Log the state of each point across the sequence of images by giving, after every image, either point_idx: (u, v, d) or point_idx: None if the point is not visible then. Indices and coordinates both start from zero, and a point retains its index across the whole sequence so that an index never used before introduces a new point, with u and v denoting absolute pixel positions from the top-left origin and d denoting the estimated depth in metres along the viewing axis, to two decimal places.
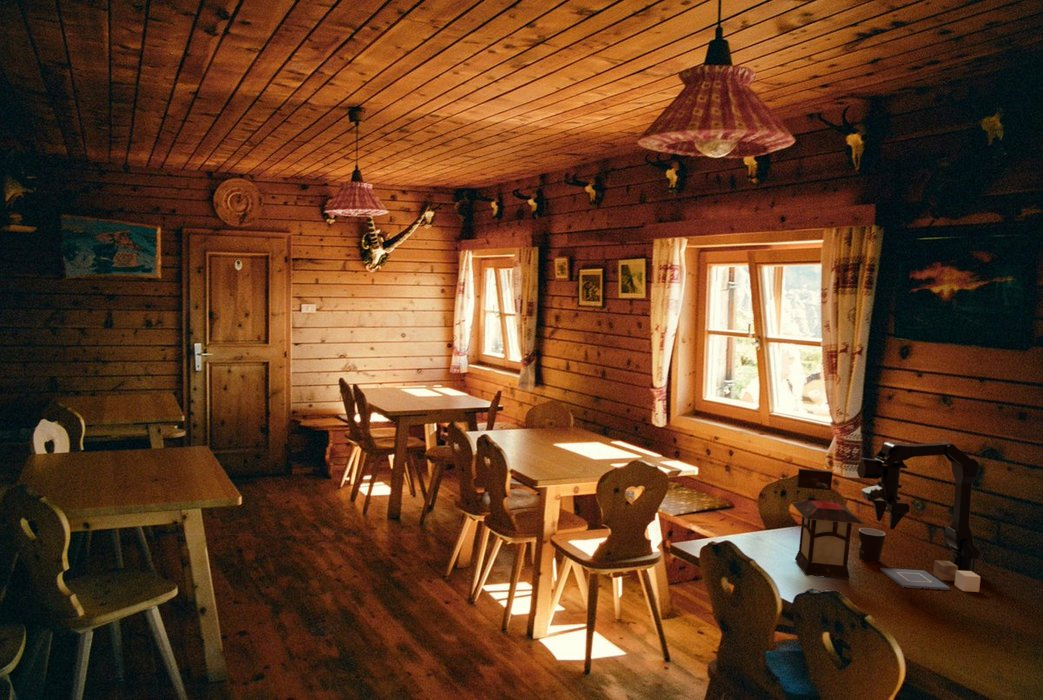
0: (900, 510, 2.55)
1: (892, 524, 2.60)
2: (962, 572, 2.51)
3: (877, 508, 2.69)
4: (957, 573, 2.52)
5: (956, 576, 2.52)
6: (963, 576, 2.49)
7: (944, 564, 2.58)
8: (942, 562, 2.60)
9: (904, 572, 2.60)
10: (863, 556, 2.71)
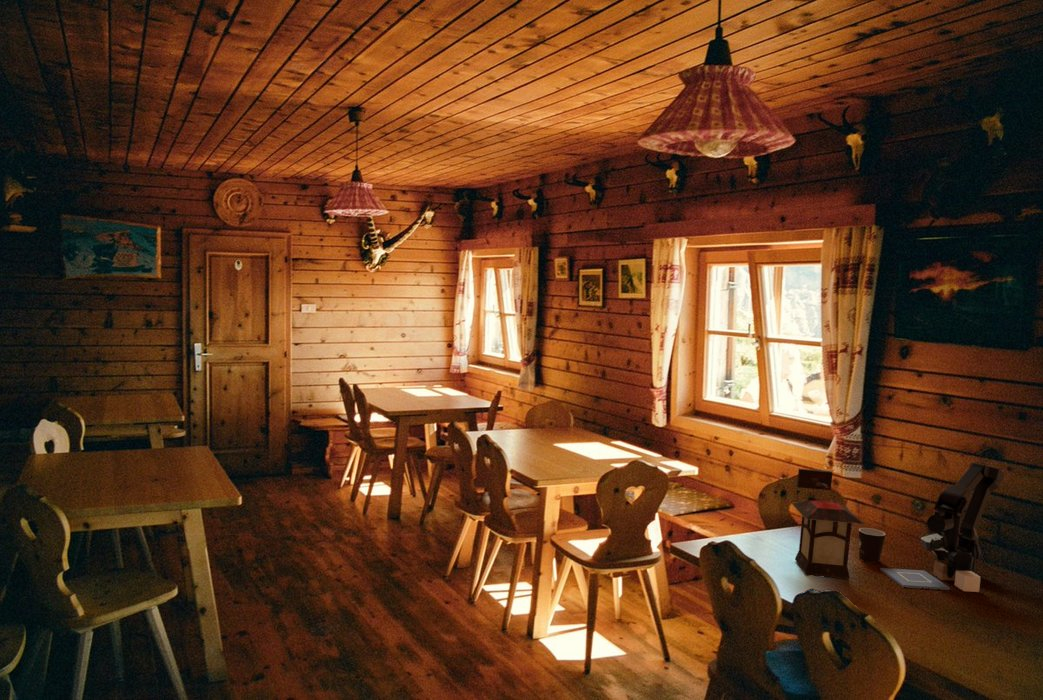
0: (963, 561, 2.50)
1: (950, 572, 2.56)
2: (962, 572, 2.51)
3: (939, 558, 2.62)
4: (957, 573, 2.52)
5: (956, 576, 2.52)
6: (963, 577, 2.49)
7: (944, 564, 2.58)
8: (942, 562, 2.60)
9: (904, 572, 2.60)
10: (863, 556, 2.71)
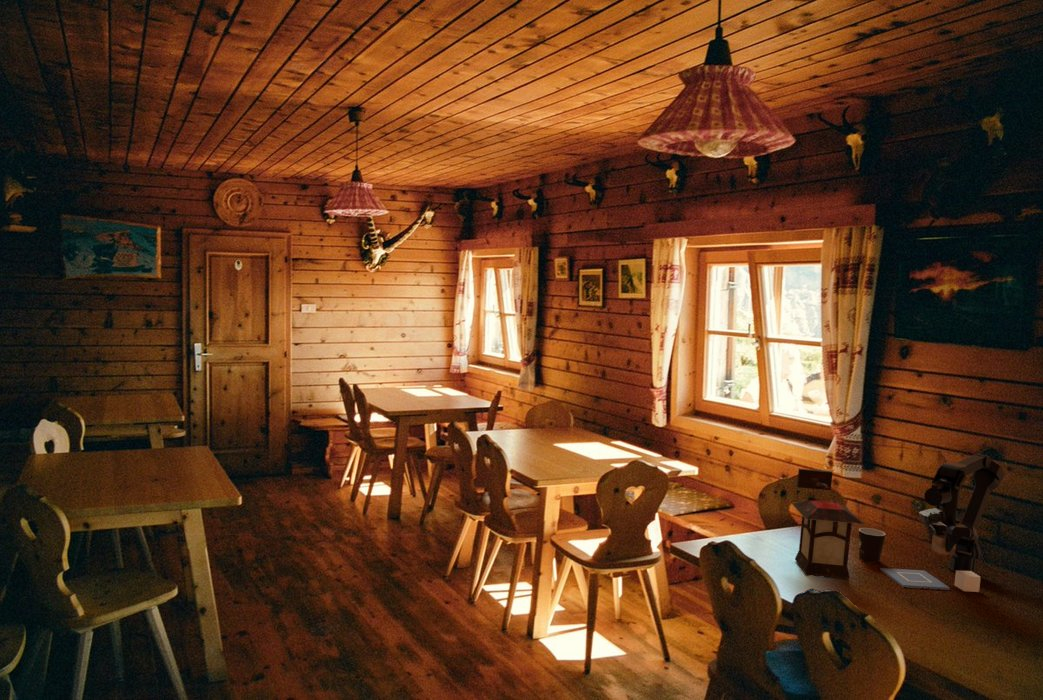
0: (961, 534, 2.48)
1: (948, 546, 2.55)
2: (962, 572, 2.51)
3: (937, 533, 2.61)
4: (957, 573, 2.52)
5: (956, 576, 2.52)
6: (963, 577, 2.49)
7: (942, 538, 2.56)
8: (940, 536, 2.58)
9: (904, 572, 2.60)
10: (863, 556, 2.71)
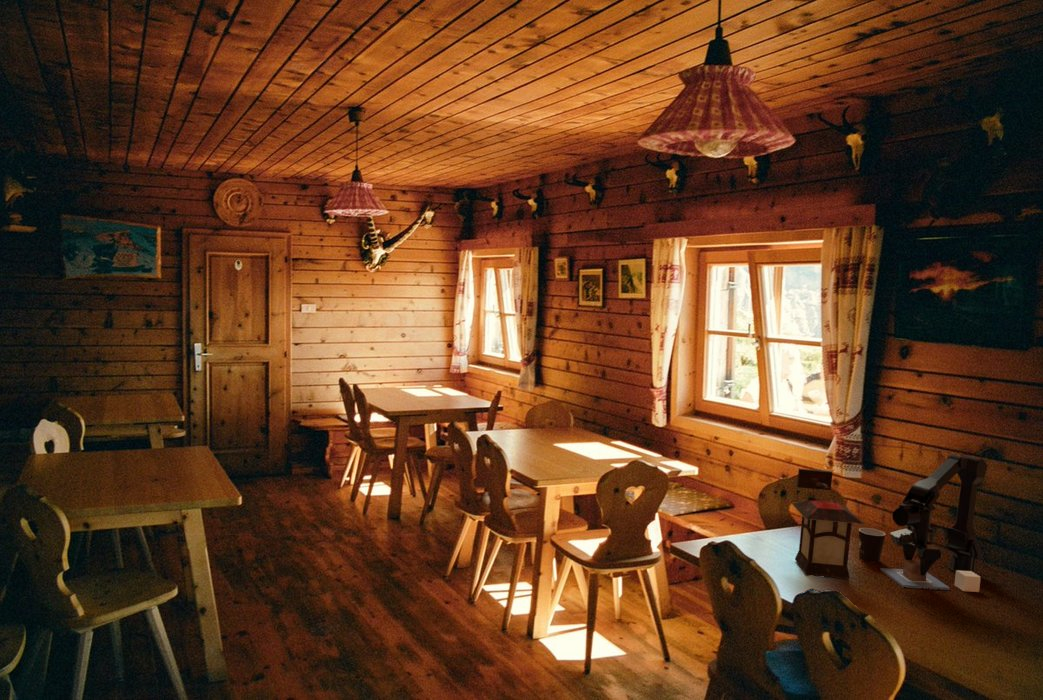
0: (932, 556, 2.45)
1: (923, 570, 2.50)
2: (962, 572, 2.51)
3: (906, 552, 2.60)
4: (957, 573, 2.52)
5: (956, 576, 2.52)
6: (963, 576, 2.49)
7: (913, 563, 2.54)
8: (912, 561, 2.55)
9: None
10: (863, 556, 2.71)
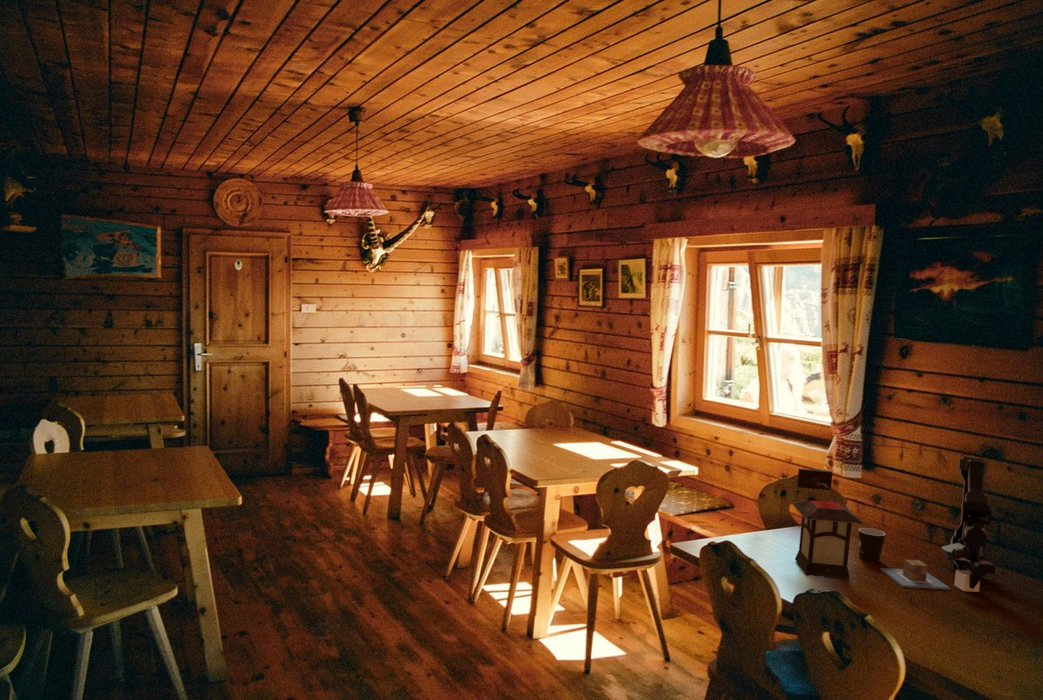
0: (986, 572, 2.41)
1: (972, 583, 2.47)
2: (962, 572, 2.51)
3: (960, 568, 2.53)
4: (957, 573, 2.52)
5: (956, 575, 2.52)
6: (963, 576, 2.49)
7: (913, 563, 2.54)
8: (912, 561, 2.55)
9: None
10: (863, 556, 2.71)
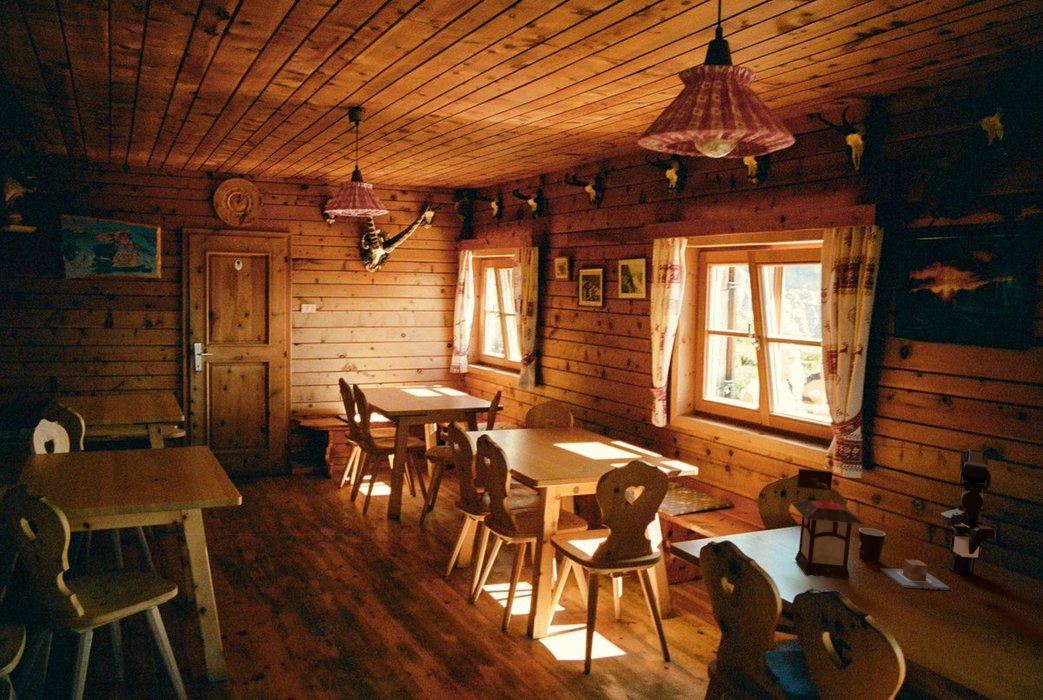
0: (985, 536, 2.40)
1: (972, 548, 2.47)
2: (961, 538, 2.51)
3: (959, 534, 2.53)
4: (956, 539, 2.51)
5: (955, 542, 2.52)
6: (962, 542, 2.48)
7: (913, 563, 2.54)
8: (912, 561, 2.55)
9: None
10: (863, 556, 2.71)
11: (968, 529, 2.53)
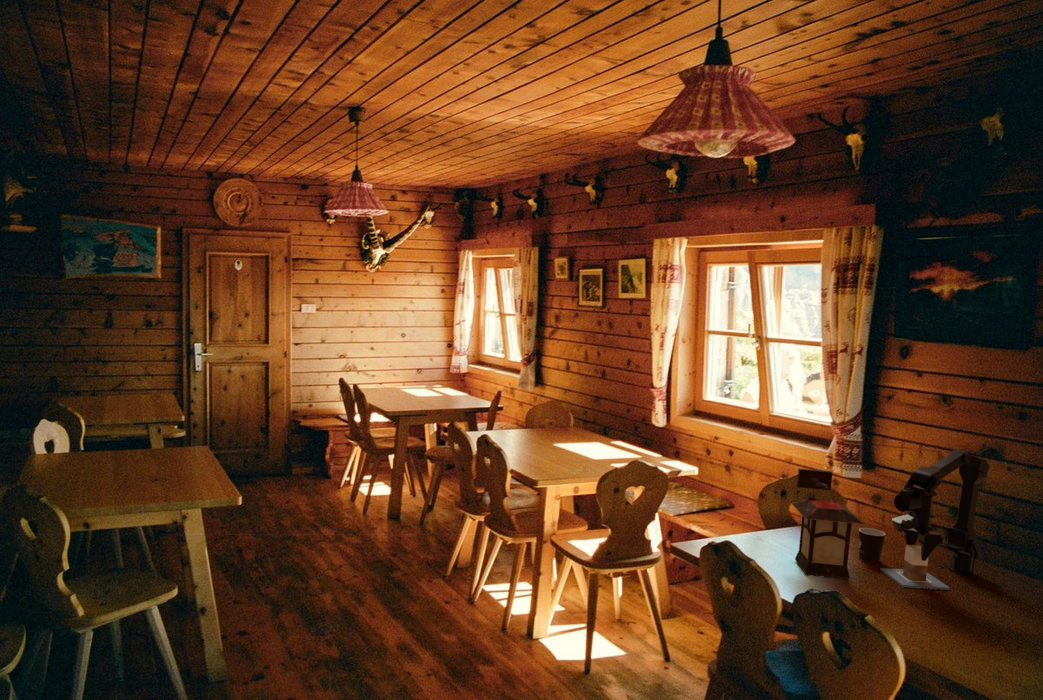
0: (933, 542, 2.45)
1: (924, 555, 2.50)
2: (911, 546, 2.55)
3: (908, 538, 2.59)
4: (907, 547, 2.56)
5: (906, 550, 2.56)
6: (912, 550, 2.53)
7: None
8: None
9: None
10: (863, 556, 2.71)
11: (917, 533, 2.59)
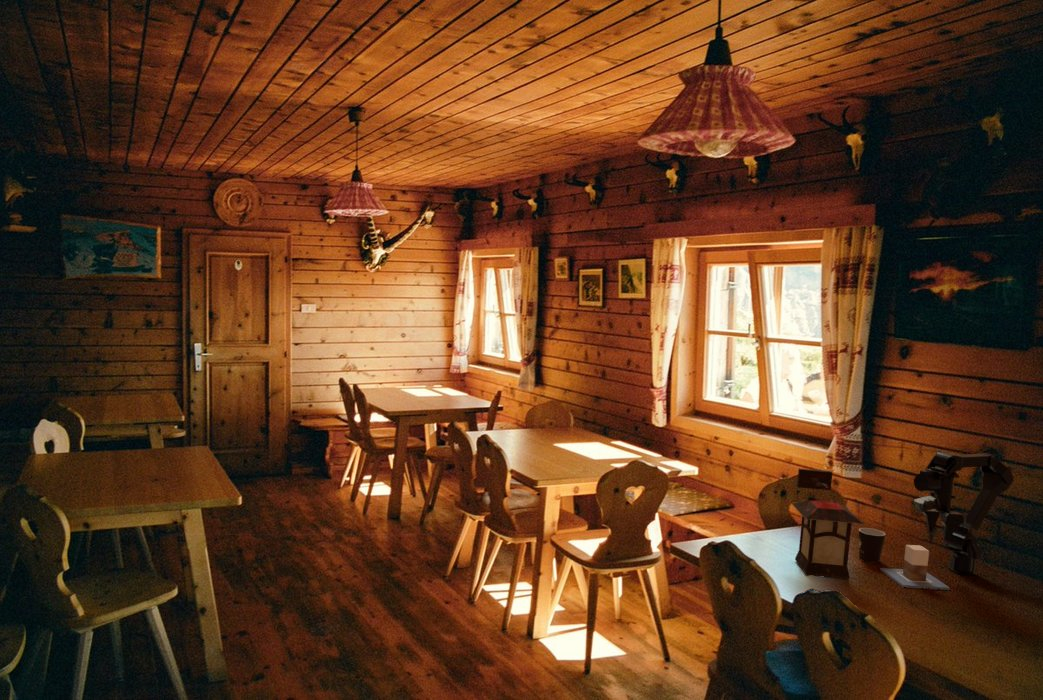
0: (955, 521, 2.52)
1: (946, 535, 2.56)
2: (911, 546, 2.55)
3: (929, 519, 2.66)
4: (907, 547, 2.56)
5: (906, 550, 2.56)
6: (912, 550, 2.53)
7: None
8: None
9: None
10: (863, 556, 2.71)
11: (937, 513, 2.66)
